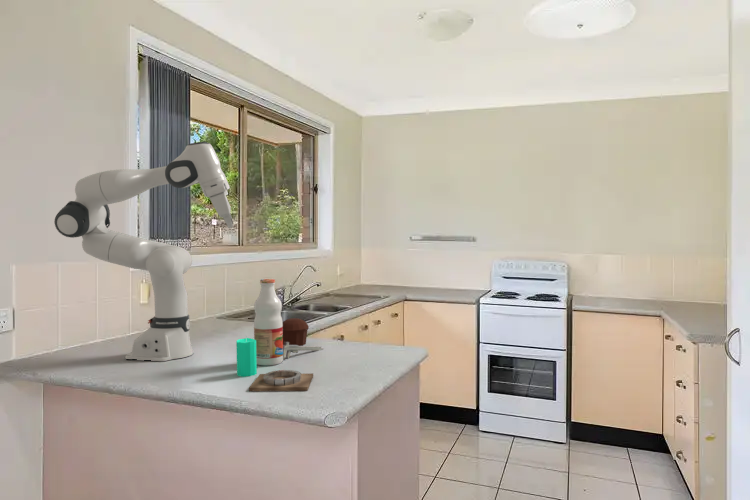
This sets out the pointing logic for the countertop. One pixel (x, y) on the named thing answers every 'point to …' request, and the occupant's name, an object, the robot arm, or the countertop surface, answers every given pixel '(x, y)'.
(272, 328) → the fruit juice
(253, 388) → the ring board
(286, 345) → the caliper
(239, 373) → the candle
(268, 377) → the ring collar
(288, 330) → the muffin
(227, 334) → the countertop surface
